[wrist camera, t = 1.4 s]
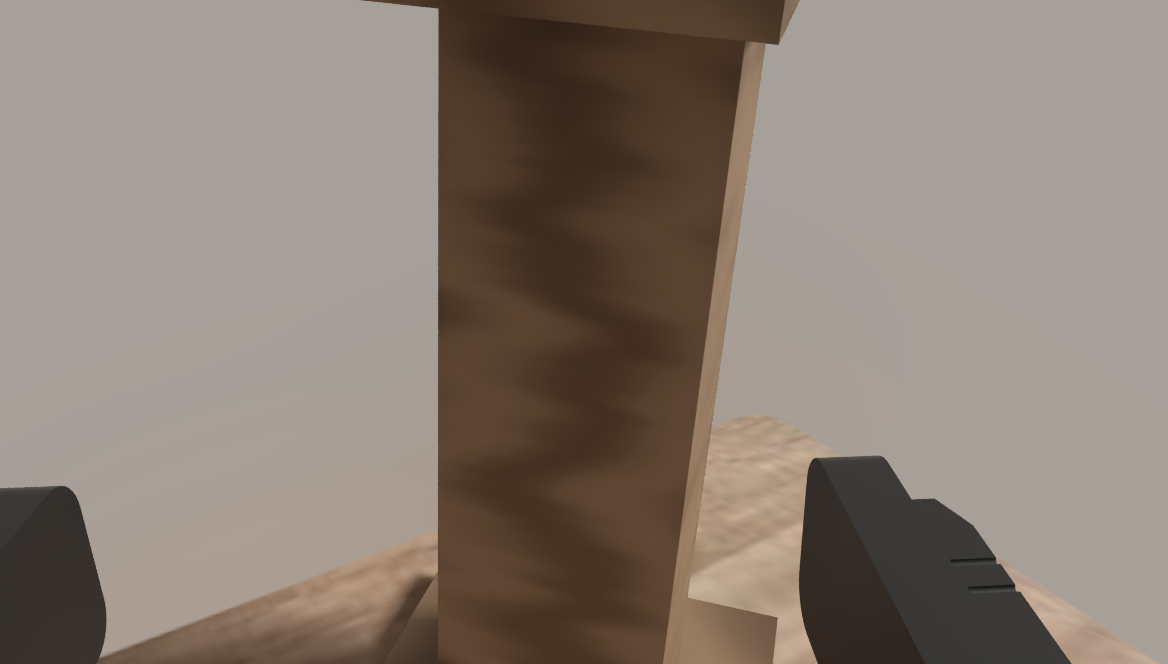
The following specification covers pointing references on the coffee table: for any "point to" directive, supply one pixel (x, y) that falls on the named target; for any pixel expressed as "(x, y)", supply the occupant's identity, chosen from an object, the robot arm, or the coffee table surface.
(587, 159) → the wooden pedestal post
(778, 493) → the coffee table surface
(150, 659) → the coffee table surface
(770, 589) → the coffee table surface
